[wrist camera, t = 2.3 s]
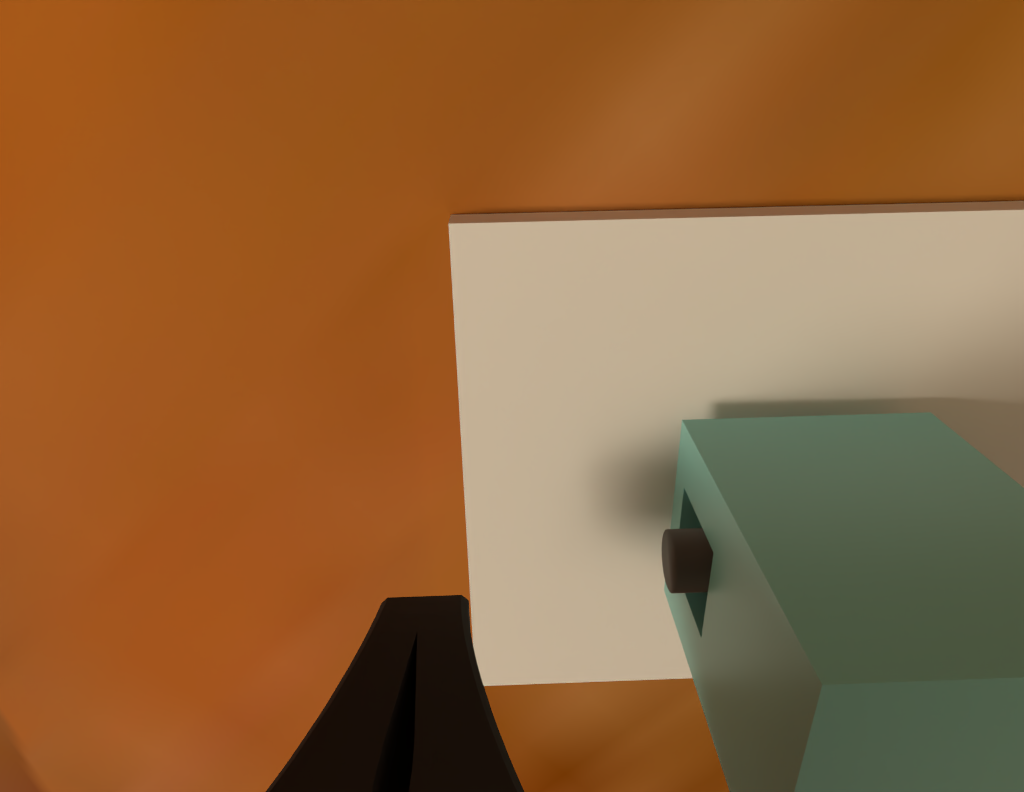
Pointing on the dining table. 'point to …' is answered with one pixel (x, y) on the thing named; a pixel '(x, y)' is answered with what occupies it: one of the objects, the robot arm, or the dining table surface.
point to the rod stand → (693, 389)
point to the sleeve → (854, 604)
